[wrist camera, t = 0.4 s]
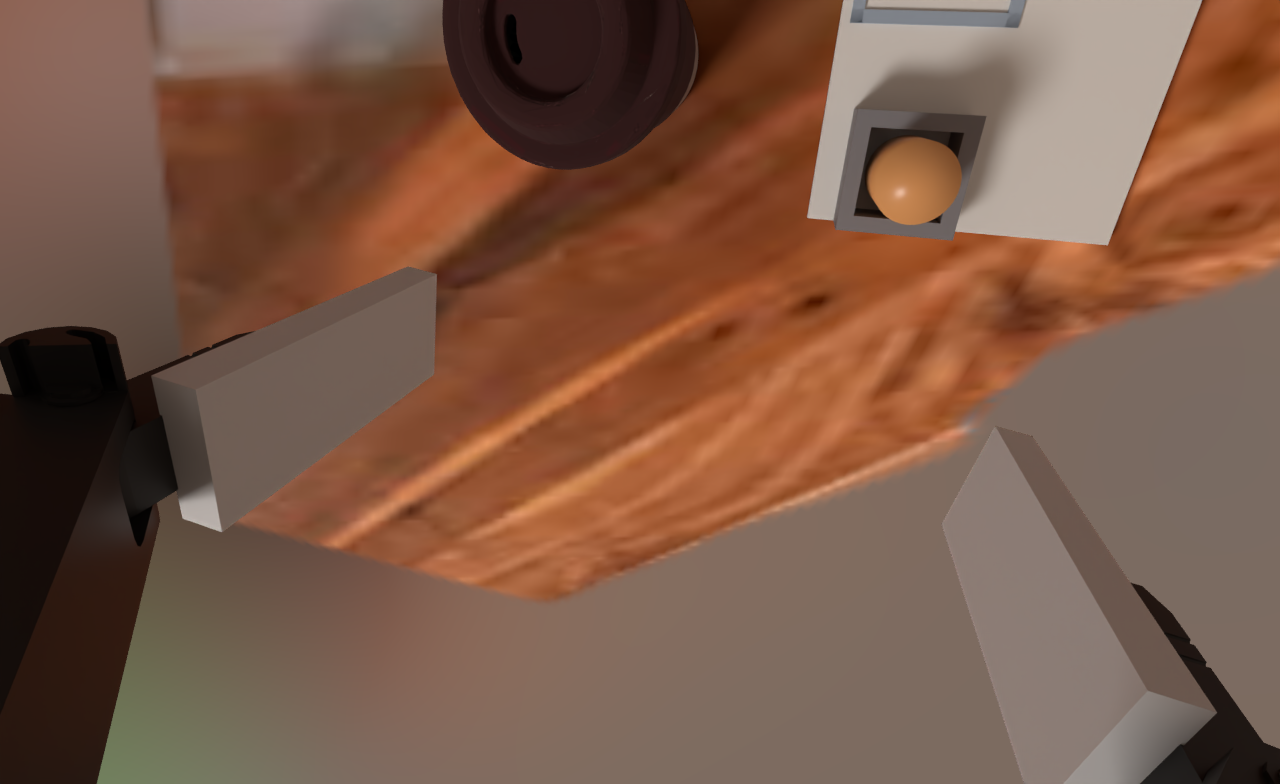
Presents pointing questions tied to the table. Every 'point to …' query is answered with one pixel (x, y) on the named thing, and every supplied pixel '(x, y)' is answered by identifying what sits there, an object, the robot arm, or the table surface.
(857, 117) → the sheet board
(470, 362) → the table surface
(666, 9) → the coffee cup
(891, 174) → the button
